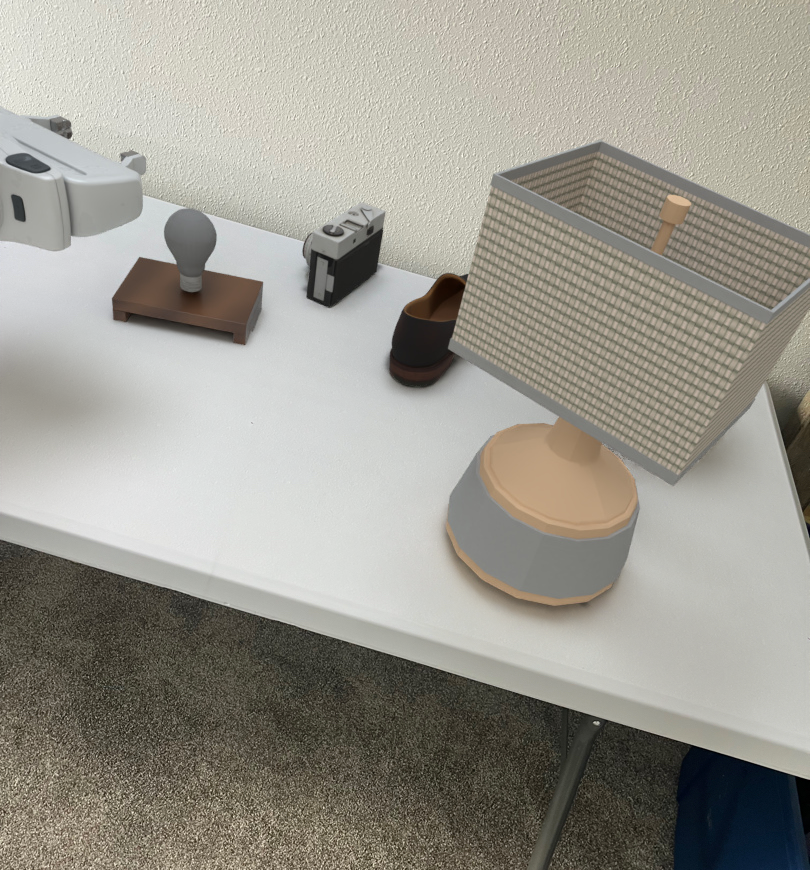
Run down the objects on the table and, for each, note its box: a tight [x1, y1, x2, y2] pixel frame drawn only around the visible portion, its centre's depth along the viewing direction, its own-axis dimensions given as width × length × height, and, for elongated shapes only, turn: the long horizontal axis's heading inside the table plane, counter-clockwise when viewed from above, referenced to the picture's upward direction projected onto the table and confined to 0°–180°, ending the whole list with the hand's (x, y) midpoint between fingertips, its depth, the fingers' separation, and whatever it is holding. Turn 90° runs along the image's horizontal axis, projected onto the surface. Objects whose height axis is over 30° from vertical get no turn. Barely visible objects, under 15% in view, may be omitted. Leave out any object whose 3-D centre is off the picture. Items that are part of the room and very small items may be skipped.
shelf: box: [111, 256, 264, 346], centre depth 99 cm, size 16×11×4 cm
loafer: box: [388, 272, 469, 387], centre depth 104 cm, size 10×28×10 cm, turn 154°
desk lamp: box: [445, 139, 810, 607], centre depth 69 cm, size 22×19×37 cm
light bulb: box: [163, 207, 218, 292], centre depth 94 cm, size 6×6×10 cm
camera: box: [301, 201, 387, 309], centre depth 110 cm, size 14×8×10 cm, turn 154°
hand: (102, 143), depth 75 cm, fingers open, 8 cm apart
